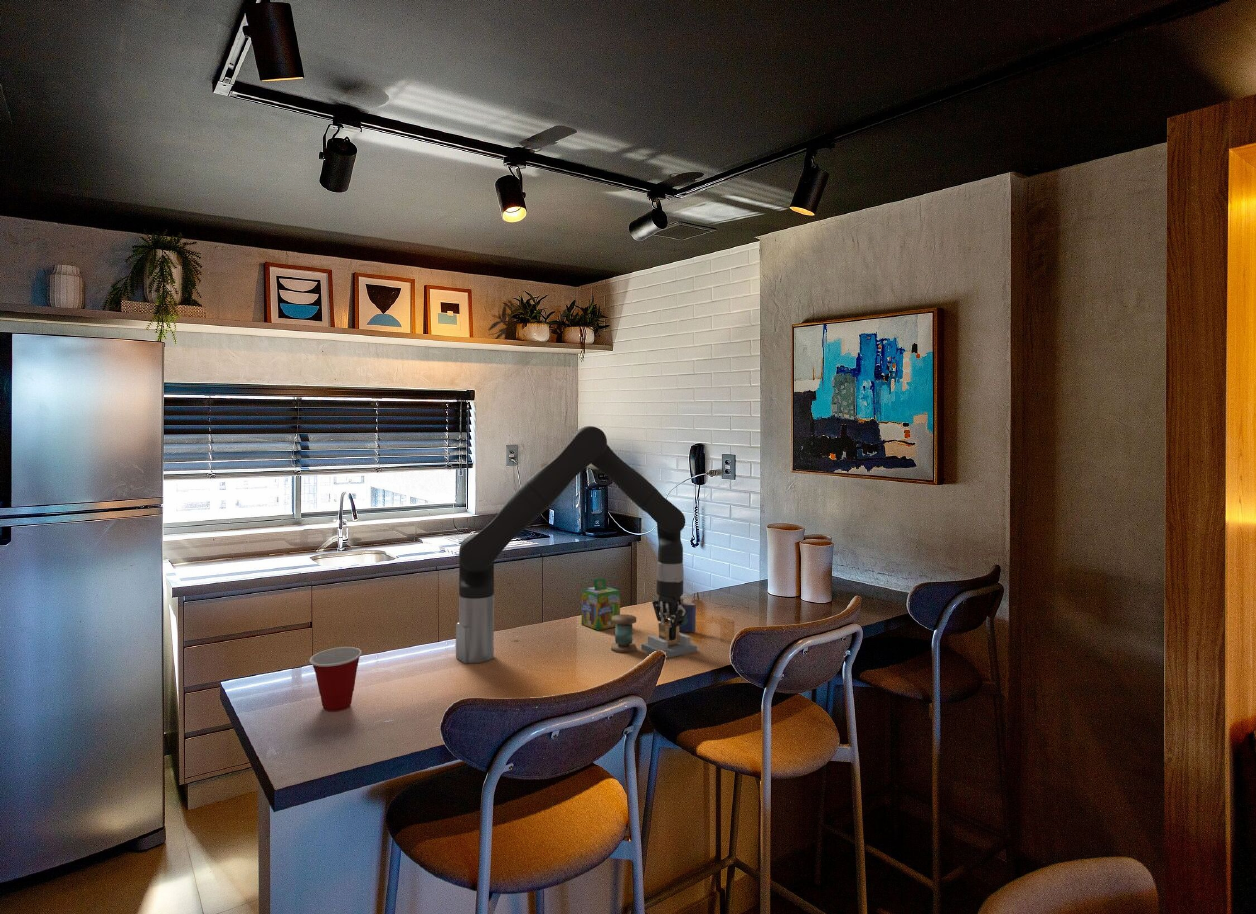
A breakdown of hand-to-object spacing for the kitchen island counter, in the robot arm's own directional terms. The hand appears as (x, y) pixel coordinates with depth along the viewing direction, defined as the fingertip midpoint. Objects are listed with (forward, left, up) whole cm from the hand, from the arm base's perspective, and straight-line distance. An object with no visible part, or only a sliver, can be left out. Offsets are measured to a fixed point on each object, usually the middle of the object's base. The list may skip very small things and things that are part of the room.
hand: (669, 638), depth 209 cm
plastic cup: (-88, +8, -4) cm, 88 cm away
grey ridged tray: (0, 0, -3) cm, 3 cm away
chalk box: (-2, +32, -4) cm, 32 cm away
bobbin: (-10, +8, -3) cm, 13 cm away
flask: (+15, +13, -4) cm, 20 cm away
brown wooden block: (0, 0, -1) cm, 1 cm away
